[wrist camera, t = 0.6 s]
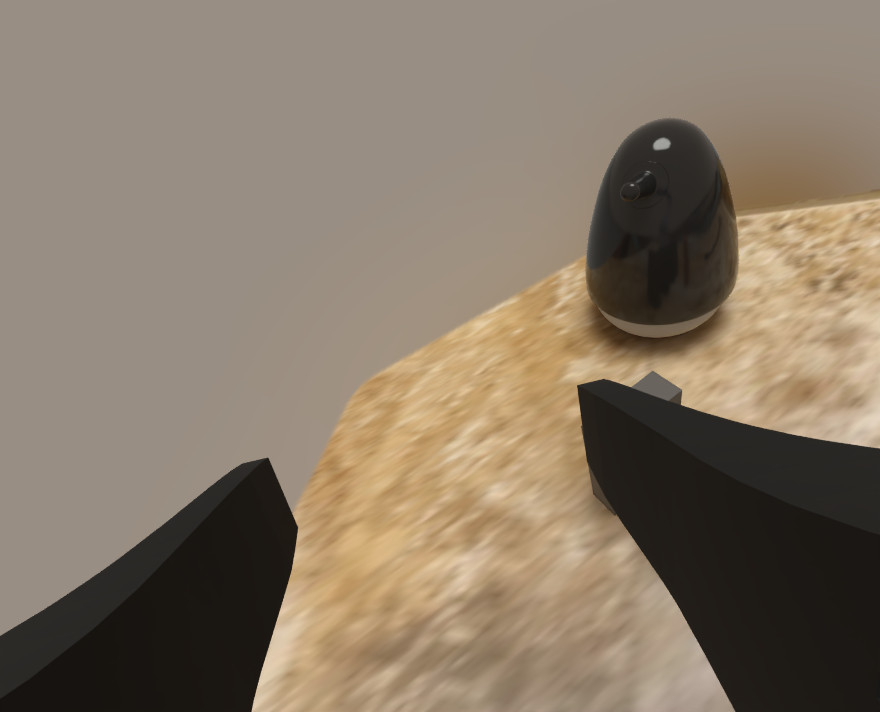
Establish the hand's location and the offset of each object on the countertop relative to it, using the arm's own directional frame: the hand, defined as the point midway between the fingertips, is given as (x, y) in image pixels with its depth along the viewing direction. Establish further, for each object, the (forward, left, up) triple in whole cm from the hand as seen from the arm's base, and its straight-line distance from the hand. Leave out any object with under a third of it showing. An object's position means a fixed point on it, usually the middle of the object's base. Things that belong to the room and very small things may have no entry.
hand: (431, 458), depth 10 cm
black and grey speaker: (+13, -22, -20) cm, 33 cm away
